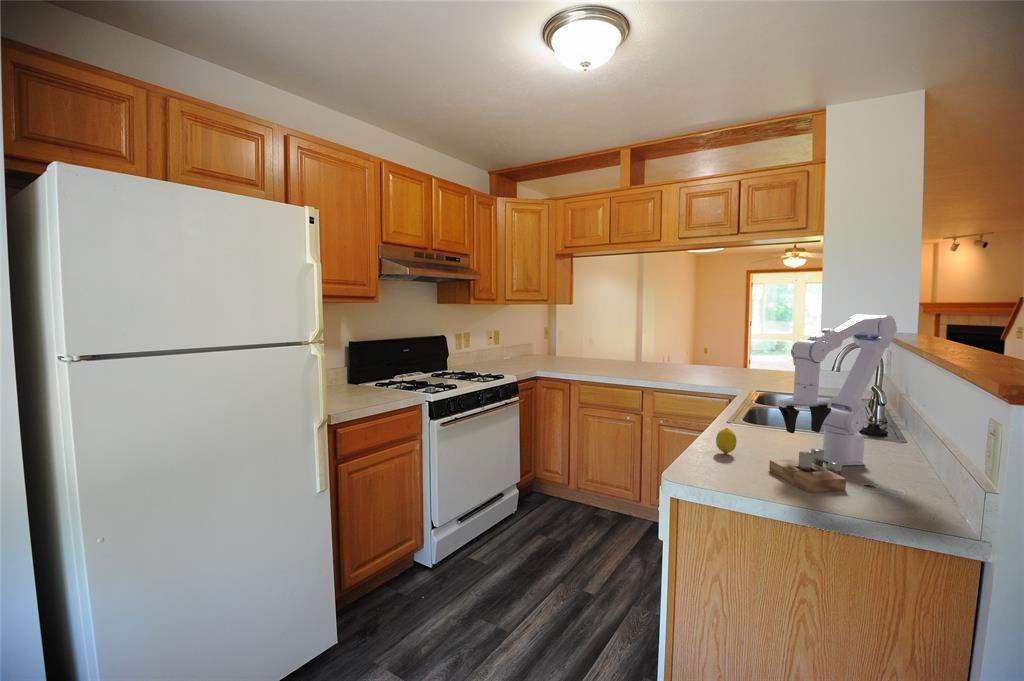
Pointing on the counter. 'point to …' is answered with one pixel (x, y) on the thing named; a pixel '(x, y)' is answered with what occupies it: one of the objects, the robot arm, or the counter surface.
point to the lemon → (726, 440)
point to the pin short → (835, 467)
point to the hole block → (808, 476)
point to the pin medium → (818, 456)
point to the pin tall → (805, 461)
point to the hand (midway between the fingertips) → (802, 432)
